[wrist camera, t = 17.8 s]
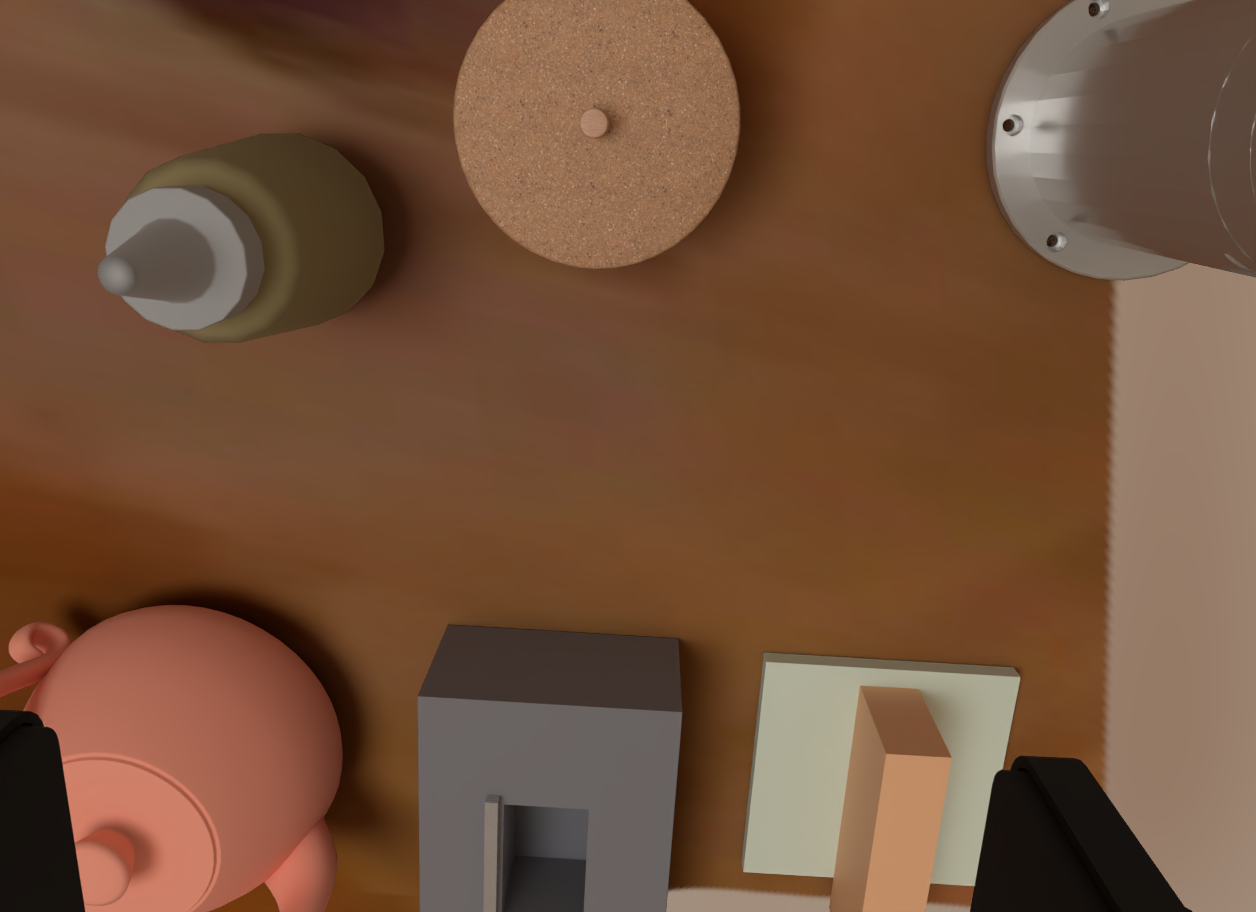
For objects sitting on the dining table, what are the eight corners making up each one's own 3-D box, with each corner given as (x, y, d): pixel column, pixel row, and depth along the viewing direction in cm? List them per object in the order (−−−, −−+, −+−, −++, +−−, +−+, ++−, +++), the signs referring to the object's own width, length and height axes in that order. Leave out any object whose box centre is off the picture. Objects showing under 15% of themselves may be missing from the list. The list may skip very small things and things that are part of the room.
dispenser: (678, 638, 52) (682, 719, 44) (656, 919, 57) (657, 1032, 50) (447, 624, 52) (414, 703, 45) (447, 906, 57) (418, 1018, 50)
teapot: (475, 752, 54) (425, 924, 42) (308, 924, 58) (219, 1126, 46) (134, 499, 50) (-27, 610, 38) (-22, 701, 54) (-212, 859, 42)
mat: (1013, 667, 52) (1020, 677, 51) (973, 873, 56) (979, 886, 55) (763, 652, 52) (766, 662, 51) (741, 859, 56) (743, 872, 55)
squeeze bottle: (200, 249, 46) (-67, 313, 29) (280, 95, 44) (44, 66, 27) (352, 345, 47) (183, 461, 30) (437, 199, 45) (307, 235, 28)
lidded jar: (718, 253, 46) (734, 281, 37) (485, 244, 46) (445, 269, 37) (734, -1, 43) (756, -38, 34) (483, -10, 43) (439, -50, 34)
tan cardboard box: (951, 757, 45) (909, 999, 50) (918, 688, 51) (883, 910, 55) (886, 753, 45) (849, 995, 50) (860, 685, 51) (829, 907, 55)
